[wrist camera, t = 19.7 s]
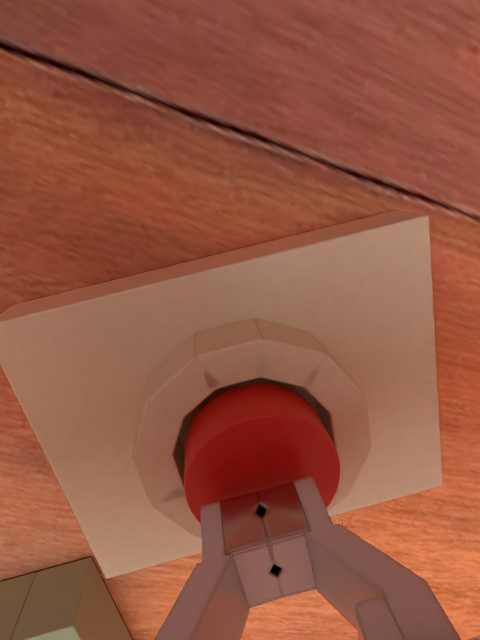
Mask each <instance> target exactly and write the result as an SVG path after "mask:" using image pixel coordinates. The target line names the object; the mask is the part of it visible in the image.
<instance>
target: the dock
mask: <svg viewBox="0 0 480 640" xmlns="http://www.w3.org/2000/svg"><path fill="white" fill-rule="evenodd" d="M0 640H132V638H131V636H130V634H129V632H128V630H127V628H126V626H125V624H124V622H123V620H122V618H121V616H120V614H119V612H118V610H117V608H116V606H115V604H114V602H113V600H112V598H111V596H110V594H109V592H108V590H107V588H106V586H105V584H104V582H103V580H102V578H101V576H100V574H99V572H98V570H97V568H96V566H95V564H94V562H93V560H92V558H91V557H89V558H86V559H82V560H78V561H75V562H71V563H67V564H64V565H60V566H57V567H53V568H49V569H46V570H42V571H38V572H37V573H36V572H35V573H31V574H27V575H24V576H20V577H16V578H13V579H9V580H6V581H2V582H0Z"/></svg>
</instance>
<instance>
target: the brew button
mask: <svg viewBox="0 0 480 640" xmlns="http://www.w3.org/2000/svg"><path fill="white" fill-rule="evenodd" d="M309 476H311V477H312V478H313V479H314V482H315V484H316V486H317V489H318V491H319V493H320V496H321V498H322V500H323V503H324V505H325V507H326V509H327V507H328V506H329V504H330V503H331V501H332V500H333V498H334V496H335V494H336V491H337V488H338V485H339V480H340V460H339V456H338V452H337V450H336V448H335V445H334V444H333V442H332V440H331V438H330V436H329V435H328V433H327V431H326V429H325V427H324V425H323V424H322V422H321V420H320V418H319V416H318V415H317V413H316V411H315V410H314V408H313V407H312V406H311V405H310V403H309V402H308V401H307V400H305V399H304V398H303V397H302V396H300V395H299V394H297V393H296V392H294V391H292V390H289V389H287V388H284V387H281V386H277V385H272V384H248V385H243V386H239V387H236V388H233V389H230V390H228V391H226V392H223V393H221V394H220V395H218V396H216V397H215V398H213V399H212V400H211V401H210V402H208V403H207V404H206V405H205V406H204V407H203V408H202V409H201V410H200V411H199V412H198V414H197V415H196V416H195V418H194V419H193V421H192V423H191V425H190V427H189V429H188V432H187V436H186V440H185V458H184V491H185V497H186V501H187V504H188V506H189V508H190V510H191V512H192V513H193V515H194V517H195V518H196V519H197V520H198V521H199V523H200V524H201V507H202V506H204V505H208V504H212V503H216V502H220V501H222V500H226V499H230V498H234V497H238V496H242V495H246V494H250V493H254V492H257V491H261V490H264V489H268V488H271V487H275V486H278V485H282V484H285V483H289V482H293V481H295V480H299V479H302V478H306V477H309Z"/></svg>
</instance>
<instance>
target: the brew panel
mask: <svg viewBox="0 0 480 640" xmlns="http://www.w3.org/2000/svg"><path fill="white" fill-rule="evenodd" d="M0 365H1V367H2V370H3V372H4V374H5V376H6V378H7V380H8V382H9V384H10V386H11V388H12V390H13V392H14V394H15V396H16V398H17V400H18V402H19V404H20V406H21V408H22V410H23V412H24V414H25V416H26V418H27V420H28V422H29V424H30V426H31V428H32V430H33V432H34V434H35V436H36V438H37V440H38V442H39V444H40V446H41V449H42V451H43V453H44V455H45V457H46V459H47V461H48V463H49V465H50V467H51V469H52V471H53V473H54V475H55V477H56V479H57V481H58V483H59V485H60V487H61V489H62V491H63V493H64V495H65V497H66V499H67V501H68V503H69V505H70V507H71V509H72V511H73V513H74V515H75V517H76V519H77V521H78V523H79V525H80V528H81V530H82V532H83V534H84V536H85V538H86V540H87V542H88V544H89V546H90V548H91V550H92V552H93V554H94V556H95V558H96V560H97V562H98V564H99V566H100V568H101V570H102V572H103V574H104V576H105V578H106V579H109V578H112V577H116V576H119V575H123V574H127V573H130V572H134V571H137V570H141V569H145V568H148V567H152V566H155V565H159V564H163V563H166V562H170V561H173V560H177V559H181V558H184V557H188V556H191V555H195V554H199V553H202V535H201V524H200V523H199V521H198V520H197V519H196V518H195V517H194V515H193V513H192V512H191V510H190V508H189V506H188V504H187V501H186V497H185V491H184V458H185V440H186V436H187V432H188V429H189V427H190V425H191V423H192V421H193V419H194V418H195V416H196V415H197V414H198V412H199V411H200V410H201V409H202V408H203V407H204V406H205V405H206V404H207V403H208V402H210V401H211V400H212V399H213V398H215V397H216V396H218V395H220V394H221V393H223V392H226V391H228V390H230V389H233V388H236V387H239V386H243V385H248V384H272V385H277V386H281V387H284V388H287V389H289V390H292V391H294V392H296V393H297V394H299V395H300V396H302V397H303V398H304V399H305V400H307V401H308V402H309V403H310V405H311V406H312V407H313V408H314V410H315V411H316V413H317V415H318V416H319V418H320V420H321V422H322V424H323V425H324V427H325V429H326V431H327V433H328V435H329V436H330V438H331V440H332V442H333V444H334V445H335V448H336V450H337V452H338V456H339V460H340V480H339V485H338V488H337V491H336V494H335V496H334V498H333V500H332V501H331V503H330V504H329V506H328V507H327V512H328V514H329V516H330V517H332V516H336V515H339V514H343V513H346V512H350V511H354V510H357V509H361V508H364V507H368V506H372V505H375V504H379V503H382V502H386V501H390V500H393V499H397V498H401V497H404V496H408V495H411V494H415V493H419V492H422V491H426V490H429V489H433V488H437V487H440V486H442V485H443V482H442V463H441V444H440V424H439V405H438V386H437V366H436V347H435V328H434V308H433V289H432V270H431V250H430V231H429V217H428V215H422V214H415V213H408V212H401V211H390V212H386V213H382V214H378V215H374V216H370V217H366V218H362V219H358V220H354V221H350V222H345V223H341V224H337V225H333V226H329V227H325V228H321V229H317V230H313V231H309V232H305V233H301V234H297V235H293V236H289V237H285V238H281V239H277V240H273V241H269V242H265V243H261V244H257V245H253V246H249V247H245V248H241V249H237V250H233V251H228V252H224V253H220V254H216V255H212V256H208V257H204V258H200V259H196V260H192V261H188V262H184V263H180V264H176V265H172V266H168V267H164V268H160V269H156V270H152V271H148V272H144V273H140V274H136V275H132V276H128V277H124V278H120V279H116V280H111V281H107V282H103V283H99V284H95V285H91V286H87V287H83V288H79V289H75V290H71V291H67V292H63V293H59V294H55V295H51V296H47V297H43V298H39V299H35V300H31V301H27V302H23V303H19V304H15V305H12V306H11V307H9V308H8V309H6V310H5V311H3V312H2V313H1V314H0Z"/></svg>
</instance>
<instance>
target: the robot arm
mask: <svg viewBox="0 0 480 640" xmlns="http://www.w3.org/2000/svg"><path fill="white" fill-rule="evenodd" d="M201 535H202V559H203V562H201V563H198V564H196V566H195V568H194V570H193V572H192V573H191V575H190V577H189V579H188V581H187V582H186V584H185V586H184V588H183V590H182V591H181V593H180V595H179V597H178V598H177V600H176V602H175V604H174V606H173V607H172V609H171V611H170V613H169V615H168V616H167V618H166V620H165V622H164V624H163V625H162V627H161V629H160V631H159V633H158V634H157V636H156V638H155V640H240V639H241V636H242V633H243V630H244V627H245V623H246V620H247V617H248V614H249V608H251V607H254V606H257V605H261V604H264V603H267V602H270V601H273V600H276V599H279V598H282V597H286V596H290V595H294V594H298V593H302V592H306V591H309V590H313V589H317V591H318V592H319V593H320V594H321V595H322V596H323V597H324V598H325V599H326V600H327V601H328V602H329V603H330V604H332V605H333V606H334V607H335V608H336V609H337V610H338V611H339V612H340V613H341V614H342V615H343V616H344V617H345V618H346V619H347V620H348V621H349V622H350V623H351V624H352V625H353V626H354V627H355V628H356V629H357V631H358V637H359V640H461V638H460V637H459V635H458V633H457V632H456V630H455V628H454V627H453V625H452V623H451V622H450V620H449V619H448V617H447V615H446V614H445V612H444V610H443V609H442V607H441V605H440V604H439V602H438V600H437V599H436V597H435V595H434V594H433V592H432V590H431V589H430V587H429V585H428V584H427V582H426V581H425V580H424V579H422V578H421V577H419V576H418V575H416V574H415V573H413V572H412V571H410V570H409V569H407V568H406V567H404V566H403V565H401V564H400V563H398V562H397V561H395V560H393V559H392V558H390V557H389V556H387V555H386V554H384V553H383V552H381V551H380V550H378V549H377V548H375V547H374V546H372V545H371V544H369V543H368V542H366V541H365V540H363V539H361V538H360V537H358V536H357V535H355V534H354V533H352V532H351V531H349V530H348V529H346V528H345V527H343V526H342V525H340V524H336V525H333V523H332V521H331V519H330V516H329V514H328V512H327V509H326V507H325V505H324V503H323V500H322V498H321V496H320V493H319V491H318V489H317V486H316V484H315V482H314V479H313V478H312V477H311V476H309V477H306V478H302V479H299V480H295V481H293V482H289V483H285V484H282V485H278V486H275V487H271V488H268V489H264V490H261V491H257V492H254V493H250V494H246V495H242V496H238V497H234V498H230V499H226V500H222V501H220V502H216V503H212V504H208V505H204V506H202V507H201ZM468 640H480V636H477V637H474V638H471V639H468Z"/></svg>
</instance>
